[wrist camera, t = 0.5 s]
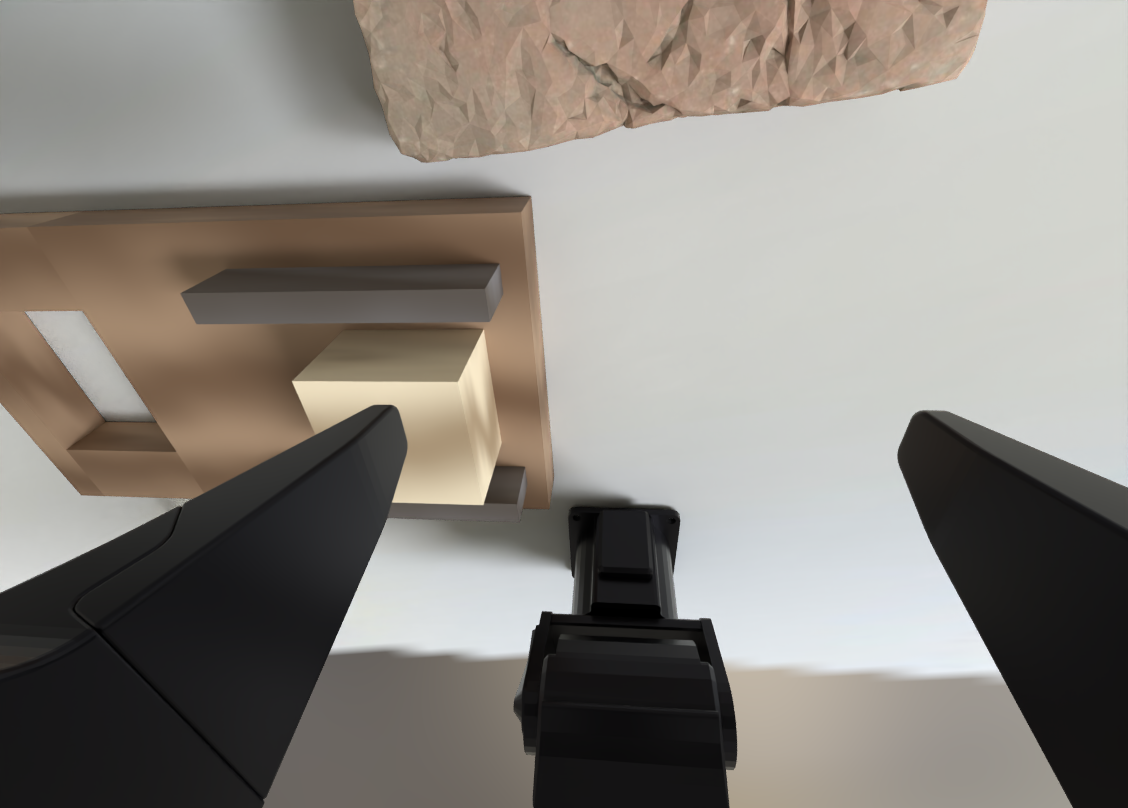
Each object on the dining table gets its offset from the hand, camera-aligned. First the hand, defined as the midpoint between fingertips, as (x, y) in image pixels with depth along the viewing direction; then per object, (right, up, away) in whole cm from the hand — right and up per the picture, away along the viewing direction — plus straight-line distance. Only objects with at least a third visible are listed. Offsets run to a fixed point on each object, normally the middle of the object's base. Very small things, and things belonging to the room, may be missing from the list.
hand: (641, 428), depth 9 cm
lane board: (-16, +3, +16) cm, 23 cm away
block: (-7, +1, +13) cm, 15 cm away
